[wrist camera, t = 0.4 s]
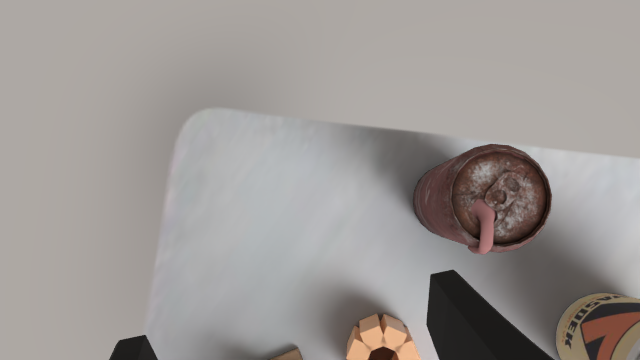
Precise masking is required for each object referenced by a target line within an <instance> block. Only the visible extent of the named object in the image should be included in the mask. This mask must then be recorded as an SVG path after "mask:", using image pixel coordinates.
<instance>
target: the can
mask: <svg viewBox="0 0 640 360" xmlns="http://www.w3.org/2000/svg"><path fill="white" fill-rule="evenodd" d="M551 200H552V193H551V189H550V185H549V181H548V178H547V177H546V175H545V173H544V172H543V170H542V169H541V167H540V165H539V164H538V163H537V162H536V161H535V160H534V159H532V158H531V157H530V156H529V155H528V154H526V153H525V152H523V151H521V150H518V149H516V148H514V147H511V146H509V145H498V144H489V145H484V146H480V147H475V148H473V149H471V150H469V151H467V152H465V153H463V154H461V155H459V156H457V157H455V158H453V159H451V160H449V161H447V162H445V163H443V164H441V165H439V166H437V167H435V168H433V169H431V170H430V171H428V172H426V173H425V174H424V176H423V177H422V178H421V179H420V180H419V181H418V184H417V186H416V188H415V190H414V198H413V205H414V209H415V214H416V215H417V217H418V219H419V221H420V222H421V224H422V225H423V226H424V227H426V228H427V229H428V230H429V231H430V232H432V233H434V234H437V235H439V236H441V237H444V238H447V239H450V240H453V241H456V242H459V243H462V244H465V245H468V248H469V249H470V250H471V251H472V252H473V253H477V254H486V253H487V252H488V251H491V252H504V251H509V250H514V249H518V248H519V247H521V246H523V245H525V244H527V243H528V242H530V241H532V240H533V239H534V238H535V236H536V235H537V234H538V233H539V232H540V231H541V230H542V229H543V228H544V225H545V223H546V221H547V218H548V216H549V214H550V211H551Z"/></svg>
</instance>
